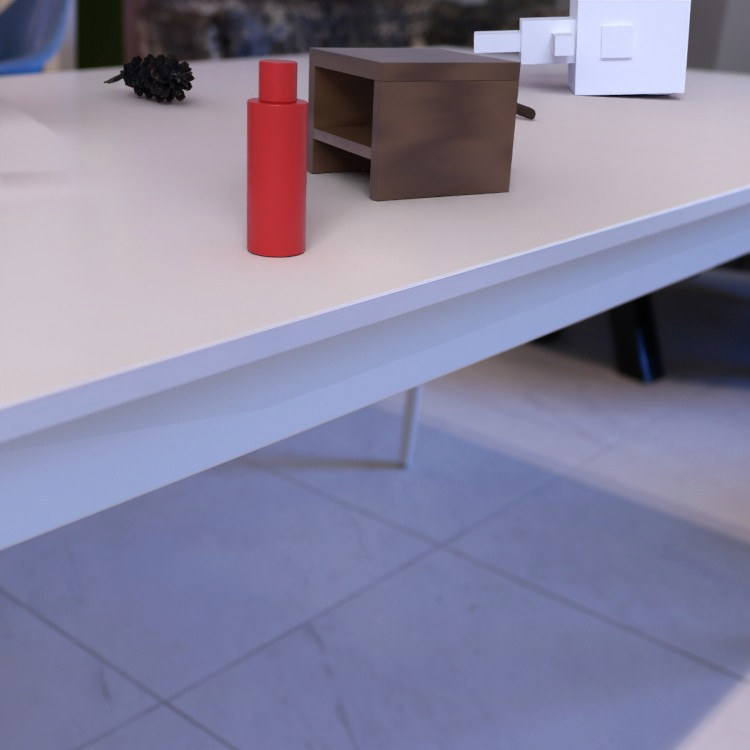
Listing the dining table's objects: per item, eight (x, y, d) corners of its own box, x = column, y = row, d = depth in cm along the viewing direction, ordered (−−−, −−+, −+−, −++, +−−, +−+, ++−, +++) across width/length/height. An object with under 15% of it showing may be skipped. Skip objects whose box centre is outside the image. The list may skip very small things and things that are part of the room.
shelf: (376, 201, 71) (382, 62, 68) (306, 171, 80) (309, 47, 77) (509, 191, 76) (521, 62, 73) (429, 164, 85) (437, 48, 82)
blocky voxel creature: (475, 88, 157) (666, 83, 155) (473, 108, 134) (698, 104, 131) (475, -17, 152) (673, -24, 149) (473, -15, 129) (707, -23, 126)
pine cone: (212, 108, 110) (212, 56, 108) (169, 110, 107) (168, 57, 105) (135, 88, 123) (133, 41, 121) (94, 89, 120) (92, 41, 118)
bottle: (260, 259, 56) (261, 64, 52) (238, 244, 58) (237, 58, 55) (314, 254, 57) (319, 64, 54) (290, 240, 60) (293, 58, 56)
